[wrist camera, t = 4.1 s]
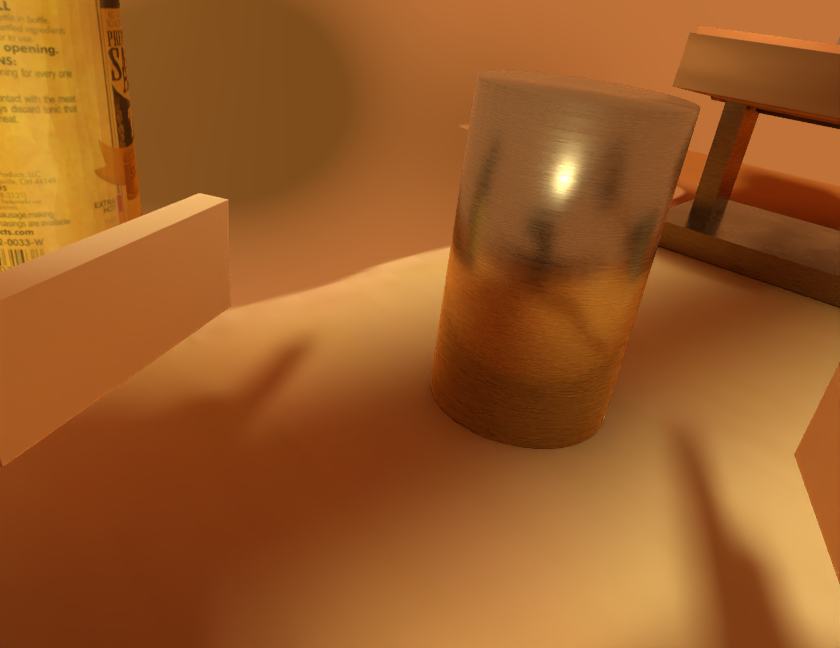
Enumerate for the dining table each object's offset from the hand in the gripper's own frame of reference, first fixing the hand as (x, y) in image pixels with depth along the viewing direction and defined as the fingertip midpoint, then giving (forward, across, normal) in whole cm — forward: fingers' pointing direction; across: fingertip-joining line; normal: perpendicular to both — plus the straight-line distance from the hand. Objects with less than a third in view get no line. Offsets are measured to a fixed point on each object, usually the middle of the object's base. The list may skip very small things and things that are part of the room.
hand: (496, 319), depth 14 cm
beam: (+29, +13, +2) cm, 32 cm away
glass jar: (+7, 0, -6) cm, 9 cm away
